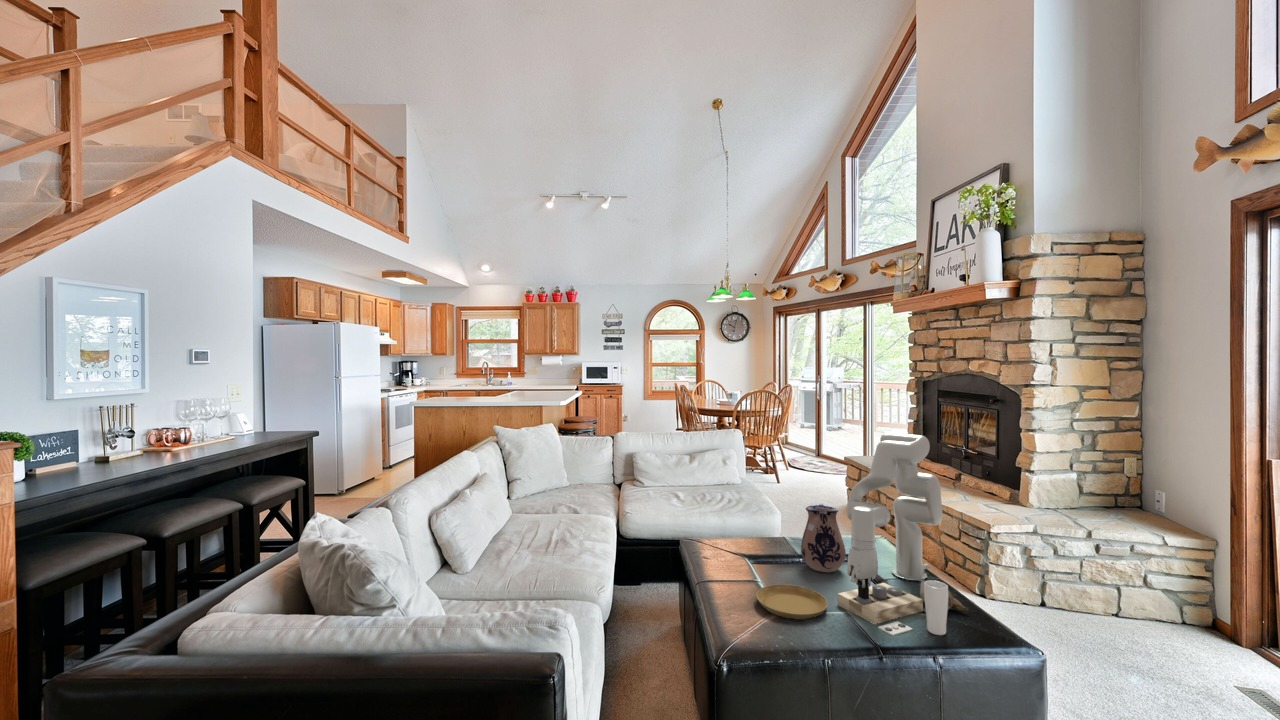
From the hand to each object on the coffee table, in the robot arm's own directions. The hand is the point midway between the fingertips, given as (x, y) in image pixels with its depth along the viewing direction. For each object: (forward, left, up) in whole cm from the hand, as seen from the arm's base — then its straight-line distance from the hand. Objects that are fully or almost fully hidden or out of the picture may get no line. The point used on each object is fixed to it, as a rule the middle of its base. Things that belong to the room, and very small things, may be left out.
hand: (863, 597), depth 184 cm
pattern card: (0, +13, -5) cm, 14 cm away
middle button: (-8, 0, -3) cm, 8 cm away
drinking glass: (-10, +20, -5) cm, 23 cm away
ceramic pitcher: (-18, -38, -5) cm, 42 cm away
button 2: (-15, 0, -5) cm, 16 cm away
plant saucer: (+19, -14, -6) cm, 24 cm away
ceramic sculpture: (-27, +9, -5) cm, 29 cm away
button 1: (0, 0, -5) cm, 5 cm away
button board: (-8, 0, -5) cm, 9 cm away
